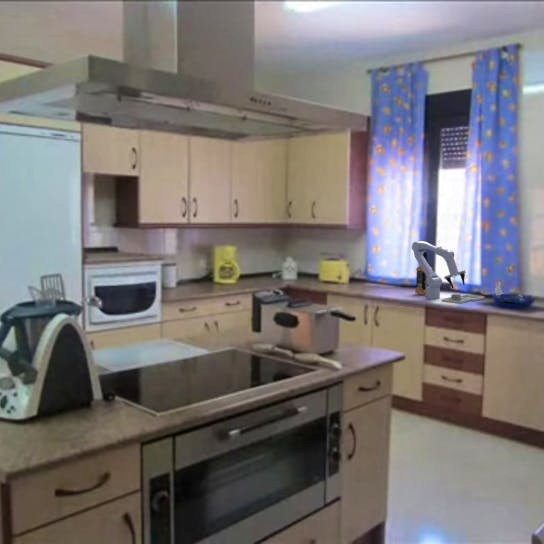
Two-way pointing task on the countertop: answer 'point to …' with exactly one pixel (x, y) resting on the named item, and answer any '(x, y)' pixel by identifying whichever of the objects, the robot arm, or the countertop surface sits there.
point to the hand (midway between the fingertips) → (458, 286)
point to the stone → (456, 297)
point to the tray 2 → (473, 297)
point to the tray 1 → (455, 300)
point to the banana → (499, 289)
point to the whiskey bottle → (421, 279)
